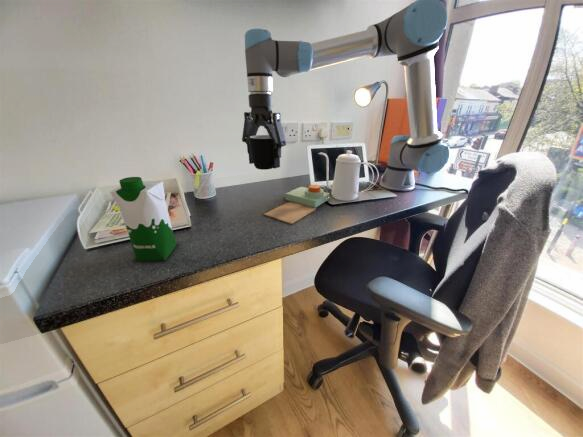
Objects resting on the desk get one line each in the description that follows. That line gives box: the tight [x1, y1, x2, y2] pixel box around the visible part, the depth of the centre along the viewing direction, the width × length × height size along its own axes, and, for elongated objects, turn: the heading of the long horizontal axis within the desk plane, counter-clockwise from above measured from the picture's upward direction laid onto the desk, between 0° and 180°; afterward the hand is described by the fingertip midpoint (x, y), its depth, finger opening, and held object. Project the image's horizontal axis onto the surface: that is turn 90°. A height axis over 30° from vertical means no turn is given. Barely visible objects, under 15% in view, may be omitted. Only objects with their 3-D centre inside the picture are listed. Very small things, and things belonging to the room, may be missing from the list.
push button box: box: [284, 186, 331, 209], centre depth 94 cm, size 14×11×4 cm
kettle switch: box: [308, 184, 321, 193], centre depth 91 cm, size 4×4×2 cm
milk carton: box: [110, 176, 178, 262], centre depth 56 cm, size 9×9×20 cm
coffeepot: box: [317, 149, 380, 202], centre depth 94 cm, size 11×25×19 cm, turn 62°
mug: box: [250, 134, 274, 171], centre depth 80 cm, size 12×9×10 cm
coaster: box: [263, 200, 317, 225], centre depth 84 cm, size 12×15×1 cm
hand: (264, 165), depth 82 cm, fingers closed on mug, 10 cm apart
